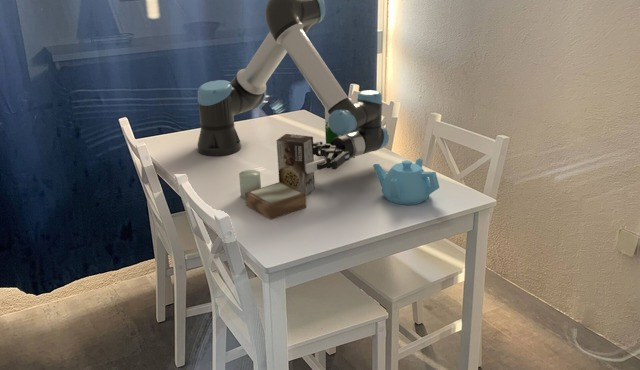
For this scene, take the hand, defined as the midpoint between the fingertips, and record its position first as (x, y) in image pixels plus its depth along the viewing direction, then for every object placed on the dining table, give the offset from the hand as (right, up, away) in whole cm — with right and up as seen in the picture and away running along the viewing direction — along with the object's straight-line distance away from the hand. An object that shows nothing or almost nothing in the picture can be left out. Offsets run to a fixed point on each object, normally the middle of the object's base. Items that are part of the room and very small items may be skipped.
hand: (292, 162), depth 184 cm
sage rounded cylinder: (-12, -10, +1) cm, 15 cm away
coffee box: (+1, -8, +5) cm, 9 cm away
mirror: (-4, -12, -7) cm, 15 cm away
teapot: (+33, -10, -2) cm, 34 cm away
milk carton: (+15, +5, +36) cm, 39 cm away
